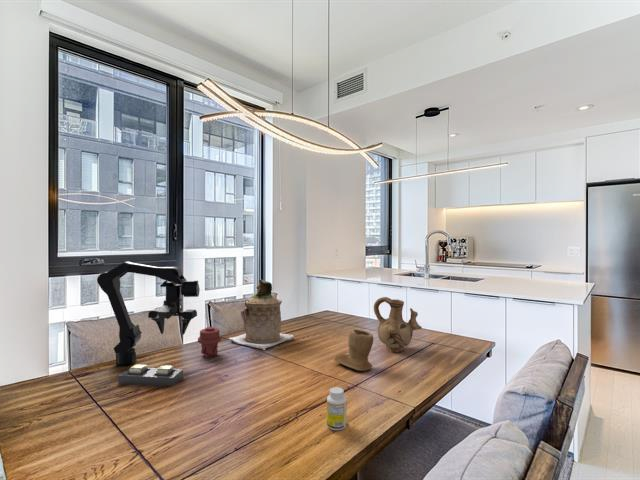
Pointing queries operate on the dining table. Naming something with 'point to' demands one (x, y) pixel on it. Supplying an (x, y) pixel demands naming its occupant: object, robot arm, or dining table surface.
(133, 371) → the beige block
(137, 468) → the dining table surface
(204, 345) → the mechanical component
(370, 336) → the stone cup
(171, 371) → the cream two-tone block
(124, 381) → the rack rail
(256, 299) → the cookie jar
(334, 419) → the supplement bottle
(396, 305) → the ceramic vessel
